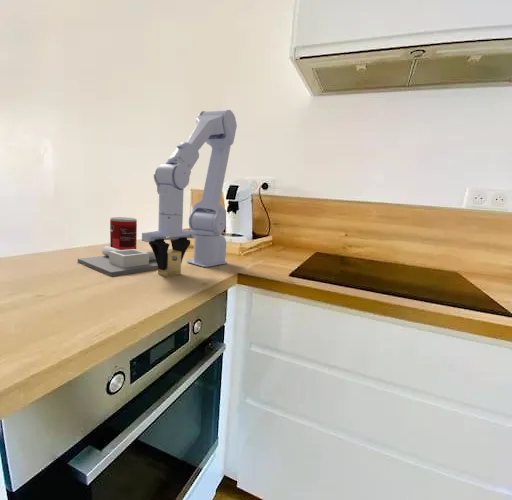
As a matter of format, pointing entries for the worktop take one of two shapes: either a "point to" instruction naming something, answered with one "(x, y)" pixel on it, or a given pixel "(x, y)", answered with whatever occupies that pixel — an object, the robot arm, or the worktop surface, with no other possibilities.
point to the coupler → (172, 264)
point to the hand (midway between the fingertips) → (169, 268)
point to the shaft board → (121, 261)
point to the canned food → (123, 233)
